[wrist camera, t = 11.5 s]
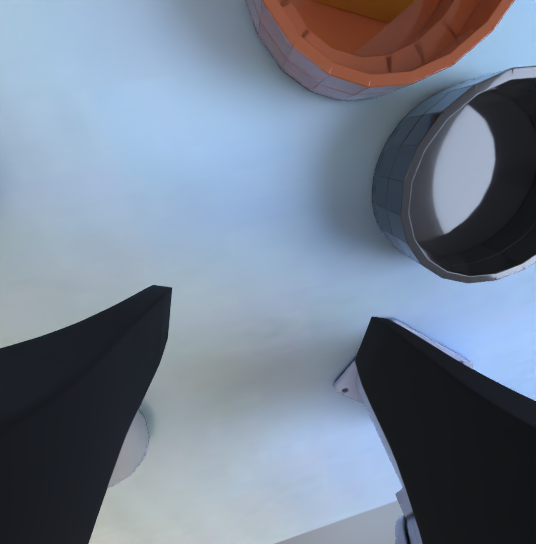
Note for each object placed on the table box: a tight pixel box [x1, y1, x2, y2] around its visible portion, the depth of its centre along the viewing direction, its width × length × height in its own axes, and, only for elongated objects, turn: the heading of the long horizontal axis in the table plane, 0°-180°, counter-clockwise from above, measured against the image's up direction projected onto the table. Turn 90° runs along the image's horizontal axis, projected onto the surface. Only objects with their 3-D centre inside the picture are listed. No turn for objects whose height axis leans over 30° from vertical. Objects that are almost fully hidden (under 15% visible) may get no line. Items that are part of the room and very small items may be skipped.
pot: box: [372, 66, 536, 283], centre depth 17 cm, size 11×11×4 cm
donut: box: [108, 410, 149, 487], centre depth 24 cm, size 10×4×10 cm
